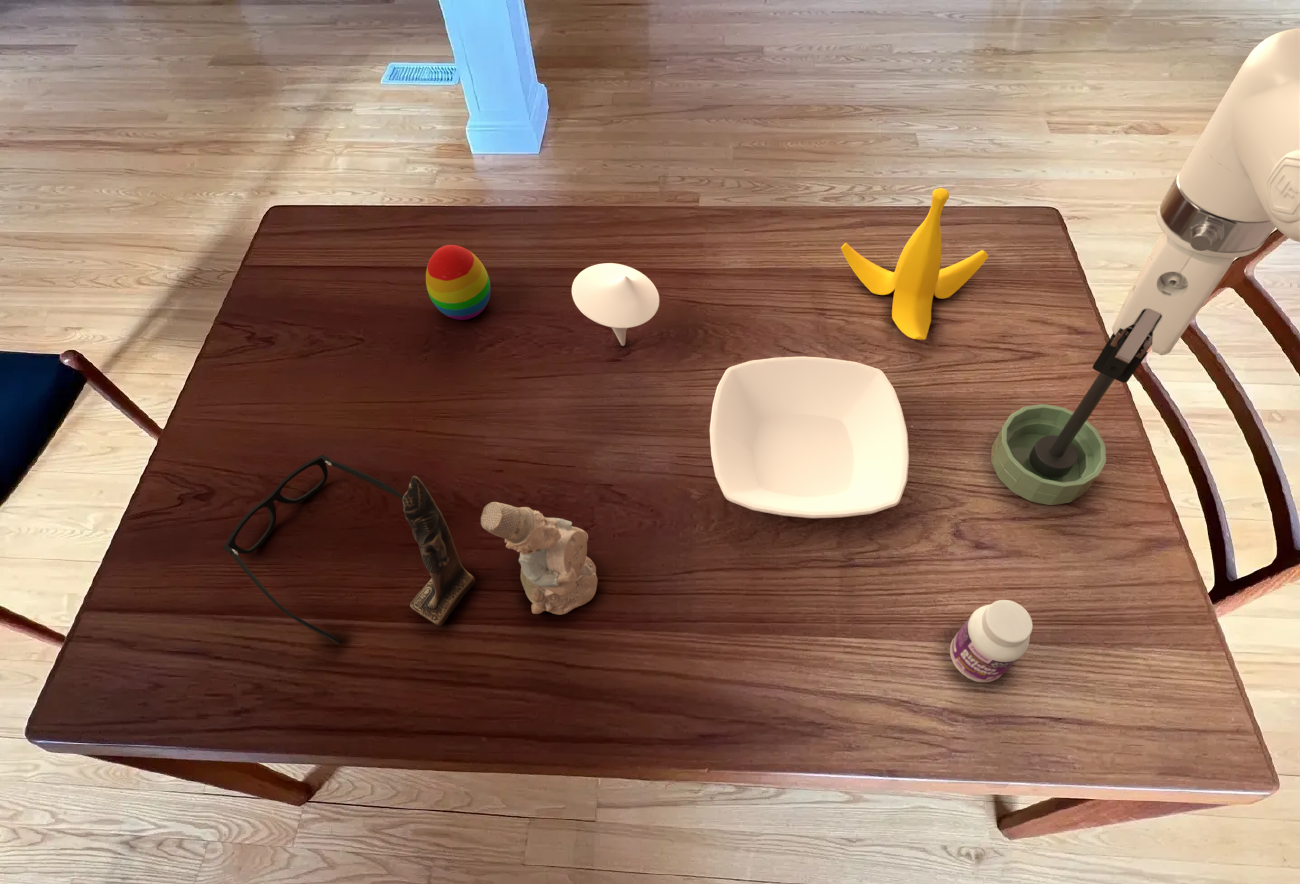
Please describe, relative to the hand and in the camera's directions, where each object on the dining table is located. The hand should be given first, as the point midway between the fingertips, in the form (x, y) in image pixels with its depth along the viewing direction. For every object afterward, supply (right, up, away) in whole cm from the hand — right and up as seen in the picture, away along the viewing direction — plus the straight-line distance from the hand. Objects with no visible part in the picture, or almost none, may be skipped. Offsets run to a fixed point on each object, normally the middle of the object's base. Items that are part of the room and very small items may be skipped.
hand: (1114, 366), depth 74 cm
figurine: (-53, -22, +10) cm, 59 cm away
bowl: (-26, -9, +18) cm, 33 cm away
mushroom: (-47, +5, +29) cm, 56 cm away
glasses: (-79, -19, +14) cm, 82 cm away
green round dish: (0, -10, +15) cm, 18 cm away
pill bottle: (-11, -28, +4) cm, 31 cm away
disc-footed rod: (+1, -9, +14) cm, 17 cm away
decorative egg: (-69, +11, +34) cm, 78 cm away
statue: (-65, -23, +10) cm, 70 cm away
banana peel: (-9, +10, +30) cm, 33 cm away
